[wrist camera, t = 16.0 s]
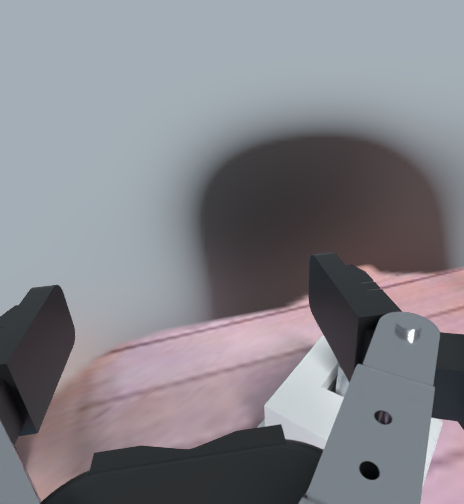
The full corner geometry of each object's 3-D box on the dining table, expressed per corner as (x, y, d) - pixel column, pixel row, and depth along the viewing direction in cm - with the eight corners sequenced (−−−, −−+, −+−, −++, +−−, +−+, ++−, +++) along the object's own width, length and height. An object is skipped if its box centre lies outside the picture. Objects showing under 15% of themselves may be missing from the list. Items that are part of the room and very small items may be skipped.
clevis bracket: (246, 449, 45) (241, 393, 41) (311, 366, 57) (313, 315, 52) (401, 552, 34) (416, 490, 30) (442, 424, 46) (457, 366, 42)
